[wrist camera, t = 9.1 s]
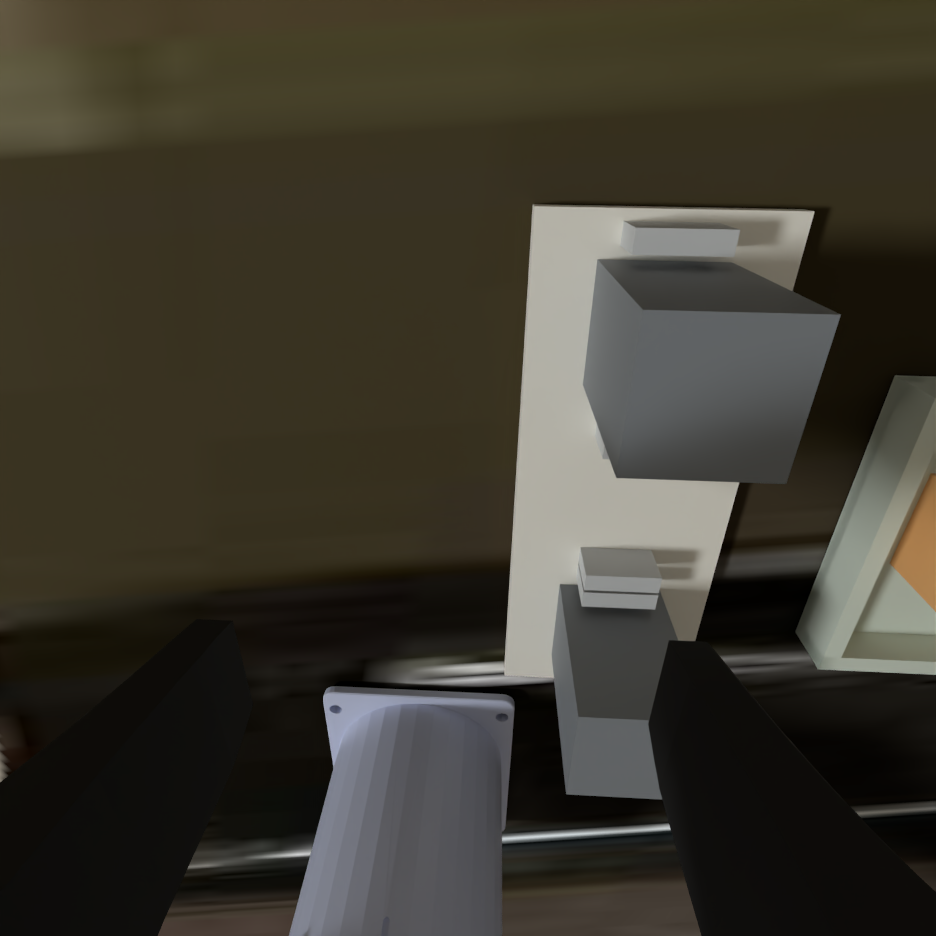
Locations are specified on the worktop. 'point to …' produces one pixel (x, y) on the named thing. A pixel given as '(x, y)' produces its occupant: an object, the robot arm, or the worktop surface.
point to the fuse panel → (576, 461)
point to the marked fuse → (920, 546)
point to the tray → (878, 550)
